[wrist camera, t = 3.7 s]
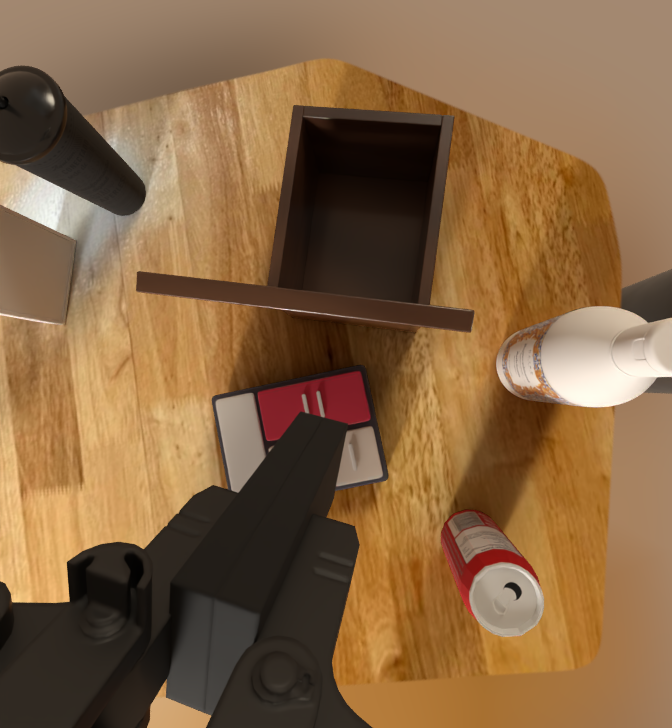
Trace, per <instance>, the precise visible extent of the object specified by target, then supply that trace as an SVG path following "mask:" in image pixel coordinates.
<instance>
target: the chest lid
mask: <svg viewBox="0 0 672 728" xmlns="http://www.w3.org/2000/svg"><path fill="white" fill-rule="evenodd" d="M136 291H137V292H141V293H149V294H158V295H166V296H174V297H182V298H190V299H198V300H207V301H215V302H223V303H231V304H239V305H248V306H256V307H264V308H272V309H280V310H289V311H297V312H305V313H313V314H321V315H329V316H338V317H346V318H354V319H362V320H370V321H379V322H387V323H395V324H403V325H411V326H420V327H428V328H436V329H444V330H452V331H460V332H471V330H472V324H473V318H474V310H468V309H459V308H450V307H442V306H433V305H425V304H416V303H407V302H399V301H390V300H382V299H373V298H364V297H356V296H347V295H339V294H330V293H321V292H313V291H304V290H296V289H287V288H278V287H270V286H261V285H253V284H244V283H235V282H227V281H218V280H209V279H201V278H192V277H184V276H175V275H166V274H158V273H149V272H141V271H139V272H137V285H136Z"/></svg>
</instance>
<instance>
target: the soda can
mask: <svg viewBox="0 0 672 728" xmlns="http://www.w3.org/2000/svg"><path fill="white" fill-rule="evenodd" d="M441 544H442V548H443V551H444V553H445V556H446V558H447V561H448V563H449V566H450V569H451V571H452V574H453V576H454V579H455V582H456V584H457V587H458V589H459V592H460V594H461V597H462V600H463V602H464V604H465V606H466V607H467V609H468V611H469V612H470V614H471V615H472V616H473V617H474V618H475V619H476V620H477V621H478V622H479V623H480V624H481V625H482V626H483V627H484V628H485V629H487V630H488V631H490V632H491V633H493V634H496V635H499V636H502V637H507V636H521V635H523V634H524V633H526V632H527V631H529V630H530V629H532V628H533V627H534V626H536V625H537V623H538V622H539V620H540V619H541V617H542V613H543V609H544V597H543V593H542V590H541V587H540V584H539V580H538V577H537V575H536V573H535V572H534V570H533V568H532V566H531V565H530V564H529V563H528V562H527V560H526V559H525V558H524V557H523V556H522V554H521V553H520V552H519V551H518V550H517V548H516V547H515V546H514V545H513V544H512V542H511V541H510V540H509V539H508V538H507V536H506V535H505V534H504V533H503V532H502V530H501V529H500V528H499V527H498V526H497V524H496V523H495V522H494V521H493V520H492V519H491V518H490V517H489V516H488V515H486V514H484V513H483V512H480V511H477V510H463V511H460V512H457V513H454V514H453V515H452V516H451V517H450V518H449V519H448V520H447V521H446V522H445V523H444V526H443V529H442V532H441Z"/></svg>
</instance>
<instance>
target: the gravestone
mask: <svg viewBox="0 0 672 728" xmlns="http://www.w3.org/2000/svg"><path fill="white" fill-rule="evenodd" d="M75 248H76V240H74V239H72V238H70V237H68V236H66V235H63V234H61V233H59V232H57V231H55V230H53V229H51V228H48V227H46V226H44V225H42V224H40V223H38V222H36V221H34V220H31V219H29V218H27V217H25V216H23V215H21V214H19V213H17V212H14V211H12V210H10V209H8V208H6V207H4V206H2V205H0V315H3V316H8V317H14V318H19V319H25V320H31V321H36V322H42V323H51V324H60V325H65V320H66V313H67V306H68V299H69V291H70V284H71V277H72V270H73V262H74V255H75Z"/></svg>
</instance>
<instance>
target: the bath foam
mask: <svg viewBox="0 0 672 728" xmlns="http://www.w3.org/2000/svg"><path fill="white" fill-rule="evenodd" d="M496 367H497V373H498V376H499V378H500V380H501V382H502V384H503V385H504V386H505V387H506V389H507V390H509V391H510V392H511V393H512V394H514V395H516V396H517V397H520V398H522V399H526V400H532V401H539V402H548V403H557V404H565V405H574V406H583V407H607V406H614V405H618V404H622V403H625V402H627V401H629V400H632V399H634V398H636V397H637V396H639V395H640V394H642V393H643V392H644V391H646V390H647V389H648V388H649V387H650V386H651V385H652V384H653V382H654V381H655V380H656V378H657V377H672V318H669V319H664V320H660V321H655V322H651V323H647V322H646V321H645V320H644V319H642V318H641V317H639V316H637V315H636V314H634V313H632V312H629V311H626V310H623V309H620V308H615V307H607V306H594V307H585V308H580V309H576V310H573V311H571V312H568V313H565V314H563V315H560V316H557V317H555V318H552V319H549V320H547V321H544V322H541V323H539V324H536V325H533V326H530V327H528V328H525V329H523V330H520V331H518V332H516V333H514V334H513V335H511V336H510V337H509V338H508V339H507V340H506V341H505V342H504V343H503V344H502V346H501V348H500V350H499V352H498V355H497V361H496Z"/></svg>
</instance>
